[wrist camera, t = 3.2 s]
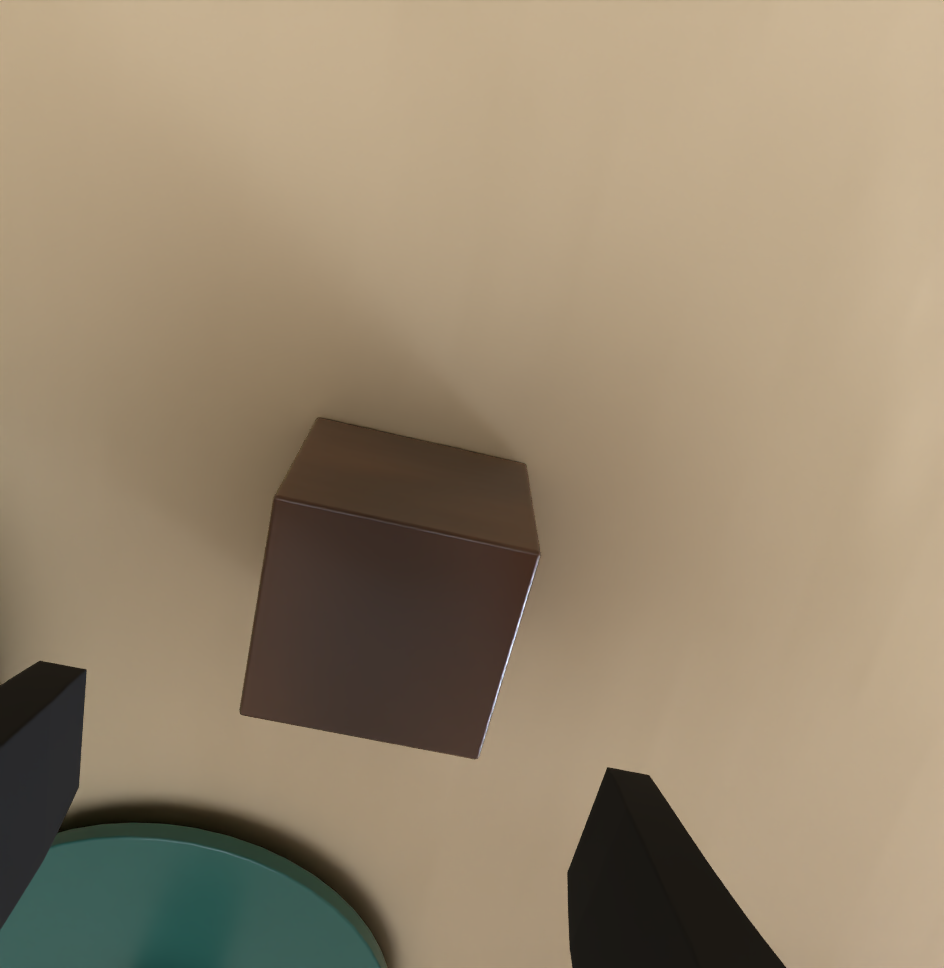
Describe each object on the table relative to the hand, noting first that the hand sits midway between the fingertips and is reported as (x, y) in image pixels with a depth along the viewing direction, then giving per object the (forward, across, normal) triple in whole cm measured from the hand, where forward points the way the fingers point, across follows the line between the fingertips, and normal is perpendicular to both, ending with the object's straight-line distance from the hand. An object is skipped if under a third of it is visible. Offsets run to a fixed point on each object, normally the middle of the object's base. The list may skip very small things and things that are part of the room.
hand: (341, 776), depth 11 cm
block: (+7, 0, 0) cm, 7 cm away
